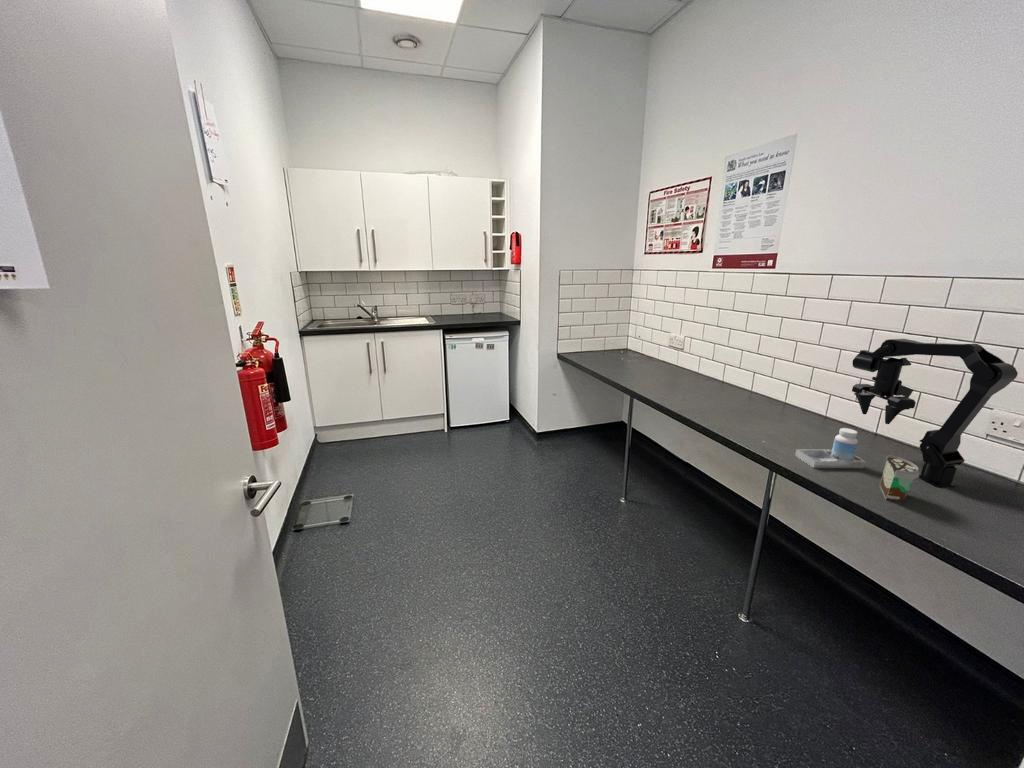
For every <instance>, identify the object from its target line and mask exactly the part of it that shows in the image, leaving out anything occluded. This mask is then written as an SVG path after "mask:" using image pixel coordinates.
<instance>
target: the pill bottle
mask: <svg viewBox="0 0 1024 768" xmlns="http://www.w3.org/2000/svg"><path fill="white" fill-rule="evenodd" d="M838 431H839V433H838V434H837V435H836V436H835V438H834V440H833V445H832V448H831V449H832V452H831V455H832V456H833V457H835V458H837V459H838V460H840V461H853V459H854V455H855V454H856V450H857V447H858V443H859V440H858V439H857V438H856V437H857V436H858V431H857V430H854V429H852V428H847V427H842V428H839V430H838ZM855 456H856V455H855Z"/></svg>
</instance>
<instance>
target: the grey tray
mask: <svg viewBox="0 0 1024 768" xmlns="http://www.w3.org/2000/svg"><path fill="white" fill-rule="evenodd" d="M831 452H832V448H831V449H828V448H827V449H826V448H824V449H820V448H819V449H812V448H811V449H808V448H806V449H804V448H803V449H800V448H798V449H796V450H795V455H794V456H795V458H798V459H799V460H800V459H801V460H800V461H802V462H803V461H804V463H805V464H806V463H807V465H808V466H809V465H810V466H809V467H811V468H812V467H813V469H864V468H865V466H866V461H865V460H864V459H862V458H861V457H859V456H857V455H854V459H853V461H840V460H838V459H837V458H835V457H833V456H832V455H831Z"/></svg>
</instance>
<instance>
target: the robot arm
mask: <svg viewBox="0 0 1024 768" xmlns="http://www.w3.org/2000/svg"><path fill="white" fill-rule="evenodd" d="M915 355H917V356H920V355H921V356H938V357H955V358H956V357H957V358H958V357H959V358H960V359H961V360H962V361H963V363H964V365H965V366H966V369H968V370H969V371H970V372H971V373H972V375H971V377H970V380H969V390H968V391H967V393H965V395H964V396H963V398H962V399H961V400H960V402H959V403H958V404H957V406H956V407H955V408H954V409H953V410H952V412H951V413H950V415H949V416H948V418H947V419H946V420H945V422H944V423H943V424H942V425H941V427H940V428H939V429H934V430H927V431H926V432H925V434H924V436H923V438H922V439H919V442H920V443H919V442H918V443H919V447H918V448H919V450H920V452H921V453H922V460H923V461H922V462H923V466H922V469H921V471H920V474H919V477H918V479H921V480H923V481H925V482H926V483H928V484H930V485H932V486H934V487H956V486H957V485H956V484H955V483H953V481H954V477H955V475H956V472H957V470H958V468H957V467H956V466H961V465H963V463H964V462H966V461H965V459H964V457H963V456H962V454H961V453H960V452H959V447H960V445H961V440H962V439H961V437H962V434H963V433H964V432H965V430H966V429H967V428H968V426H970V424H971V423H972V421H973V420H974V419H975V418H976V416H978V414H979V413H980V411H981V410H982V409H983V407H984V406H985V405H986V404H987V402H988V401H990V399H991V398H992V397H993V395H996V394H997V393H998V392H999V391H1002V390H1003V389H1005V388H1006V387H1007V386H1009V385H1010V384H1011V383H1013V381H1014V380H1016V379H1017V378H1018V373H1019V372H1018V371H1017V369H1016V367H1015V366H1014V365H1012V364H1010V363H1007V362H1006V361H1004V360H1003V359H1002V358H1000V357H999V356H997V355H995V354H993V353H991V352H990V351H988V350H987V349H985V348H984V347H983V346H982V345H981V344H978V343H943V342H942V343H941V342H939V343H938V342H936V343H935V342H920V341H916V340H912V339H907V338H894V339H893V338H891V339H885V340H884V341H883V342H882V343H881V345H880V346H879V347H878V348H877V349H875V350H874V351H869V350H866V349H863V350H862V349H861V350H859V353H858V354H857V355H856V356H855V357H854V359H853V360H852V367H853V368H854V369H857V370H861V371H865V372H869V373H875V372H877V373H876V376H872V378H871V380H872V381H874V383H873V385H871V384H868V383H855V384H854V385H853V386H852V389H851V392H853V394H854V396H855V397H856V399H857V401H858V403H859V406H860V410H861V414H862V415H867V414H868V412H869V409H870V407H871V406H870V405H871V402H872V400H873V399H874V398H876V397H877V398H879V399H883V400H884V401H887V404H886V405H885V408H884V409H885V410H884V411H885V413H884V423H885V425H890V424H891V423H892V422H893V421H894V420H895V418H896V417H897V416H898V415H899V414H900V413H901V412H903V411H906V410H907V411H908V410H910V409H915V407H916V403H917V401H915V399H914V398H910V397H911V395H912V394H913V392H914V389H912V388H910V387H908V386H904V385H902V383H903V381H902V379H901V380H900V375H901V373H902V369H903V367H906V366H907V367H909V366H912V363H911V362H910V361H909V360H908V358H907V357H904V356H915ZM895 357H900V358H895Z"/></svg>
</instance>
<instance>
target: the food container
mask: <svg viewBox="0 0 1024 768" xmlns="http://www.w3.org/2000/svg"><path fill="white" fill-rule="evenodd" d="M919 475H920V470H919V466H917V465H916V464H915V463H913V462H911V461H909V460H907V459H905V458H902V457H898V456H896V455H892V454H891V455H890V454H887V456H886V459H885V464H884V468H883V472H882V475H881V479H880V481H879V488H880V490H881V492H882V494H883V497H884V499H885V501H889V502H896V501H900V502H904V501H905V500H906V498H907V496H908V493H909V492H910V489H911V487H912V485H913V483H914V480H915V479H919Z"/></svg>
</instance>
